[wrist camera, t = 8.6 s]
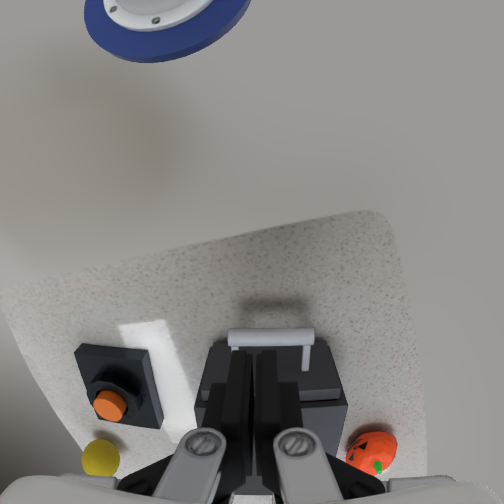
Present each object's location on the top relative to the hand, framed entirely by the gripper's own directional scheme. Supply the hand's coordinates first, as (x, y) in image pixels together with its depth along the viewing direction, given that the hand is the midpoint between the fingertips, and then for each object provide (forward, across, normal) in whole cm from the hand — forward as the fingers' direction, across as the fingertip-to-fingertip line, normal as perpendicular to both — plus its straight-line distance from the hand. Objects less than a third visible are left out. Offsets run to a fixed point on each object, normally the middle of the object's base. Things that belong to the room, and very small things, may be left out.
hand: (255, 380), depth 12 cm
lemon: (+19, +24, +29) cm, 42 cm away
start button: (+15, +17, +16) cm, 28 cm away
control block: (+19, +18, +16) cm, 30 cm away
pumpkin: (+19, -14, +28) cm, 37 cm away
